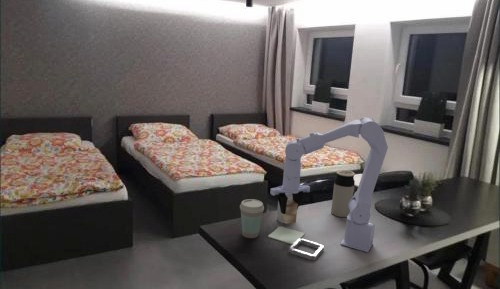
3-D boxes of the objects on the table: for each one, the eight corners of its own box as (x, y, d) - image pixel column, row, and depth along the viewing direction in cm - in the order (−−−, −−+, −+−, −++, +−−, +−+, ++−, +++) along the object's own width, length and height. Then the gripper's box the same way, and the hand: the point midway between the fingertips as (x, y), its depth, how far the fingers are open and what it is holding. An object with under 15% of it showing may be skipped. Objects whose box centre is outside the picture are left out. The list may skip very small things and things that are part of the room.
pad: (304, 234, 137) (305, 233, 137) (293, 245, 129) (293, 244, 129) (280, 227, 142) (280, 226, 142) (267, 237, 134) (267, 236, 133)
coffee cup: (256, 228, 140) (258, 197, 137) (266, 238, 132) (268, 206, 130) (235, 230, 137) (236, 199, 134) (243, 241, 129) (245, 208, 127)
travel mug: (354, 216, 156) (359, 174, 151) (338, 218, 153) (343, 176, 148) (343, 209, 163) (347, 169, 159) (327, 210, 160) (331, 170, 156)
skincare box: (282, 223, 145) (285, 194, 142) (275, 219, 148) (278, 190, 146) (295, 220, 148) (297, 191, 145) (288, 216, 152) (290, 188, 149)
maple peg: (290, 217, 136) (292, 199, 135) (296, 222, 133) (297, 203, 131) (280, 218, 135) (281, 200, 133) (285, 223, 131) (287, 205, 130)
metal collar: (324, 249, 127) (324, 245, 127) (314, 261, 119) (314, 256, 119) (299, 241, 132) (299, 237, 131) (287, 252, 124) (288, 248, 123)
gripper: (277, 180, 124) (274, 219, 127) (316, 177, 129) (312, 214, 132) (268, 174, 130) (266, 210, 133) (305, 171, 136) (302, 206, 139)
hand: (288, 212), depth 133 cm, fingers closed on maple peg, 4 cm apart
